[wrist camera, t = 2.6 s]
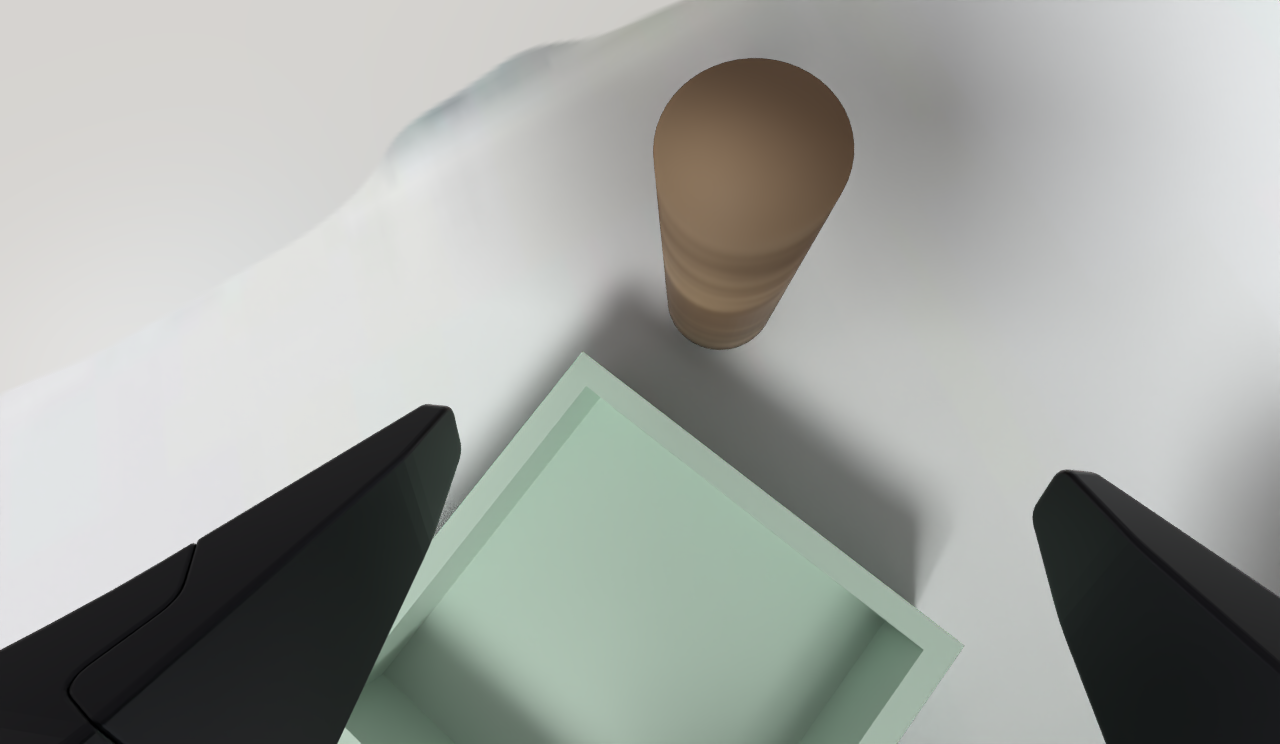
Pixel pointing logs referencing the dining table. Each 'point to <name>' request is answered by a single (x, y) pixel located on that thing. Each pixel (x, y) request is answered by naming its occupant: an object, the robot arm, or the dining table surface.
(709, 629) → the box
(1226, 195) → the dining table surface
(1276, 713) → the robot arm
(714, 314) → the walnut handle
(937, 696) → the dining table surface
